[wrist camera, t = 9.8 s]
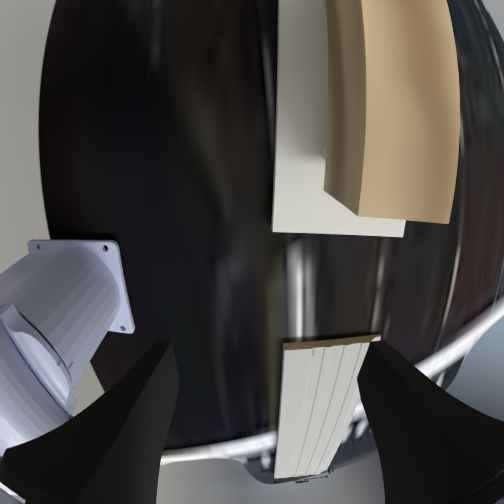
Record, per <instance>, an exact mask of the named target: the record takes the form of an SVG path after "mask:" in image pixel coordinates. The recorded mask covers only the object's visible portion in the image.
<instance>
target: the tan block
mask: <svg viewBox="0 0 504 504" xmlns="http://www.w3.org/2000/svg"><path fill="white" fill-rule="evenodd" d="M326 13H327V35H328V118H327V143H326V161H325V176H324V189H323V190H324V191H325V192H326V193H328V194H329V195H330V196H332V197H333V198H334V199H336V200H337V201H338V202H340V203H341V204H342V205H344V206H345V207H346V208H348V209H349V210H350V211H351V212H353V213H354V214H355V215H357V216H358V217H373V218H387V219H400V220H412V221H424V222H434V223H444V224H449V219H450V214H451V208H452V202H453V196H454V189H455V181H456V173H457V163H458V151H459V133H460V93H459V76H458V64H457V55H456V47H455V41H454V34H453V29H452V23H451V18H450V14H449V9H448V5H447V1H446V0H326Z"/></svg>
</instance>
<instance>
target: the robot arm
mask: <svg viewBox="0 0 504 504" xmlns="http://www.w3.org/2000/svg"><path fill="white" fill-rule="evenodd" d="M39 245H40V246H39ZM104 245H106V246H107V247H108V250H107V249H105V247H104ZM40 247H41V248H40ZM28 249H29V254H28V255H26V256H25V257H23V258H22V259H20V260H19V261H18V262H16V263H15V264H14V265H12V266H11V267H9V268H8V269H7V270H6V271H4V272H3V273H2V274H0V504H24V503H22V502H20V501H19V500H17V499H16V498H14V497H13V496H11V495H19V496H20V497H22V498H23V499H25V500H26V502H25V504H156V495H157V485H158V476H159V468H160V461H161V456H162V451H163V447H164V444H165V440H166V436H167V433H168V429H169V426H170V422H171V419H172V415H173V412H174V408H175V404H176V399H177V393H178V386H179V375H178V370H177V366H176V361H175V356H174V351H173V346H172V342H169V341H159V340H155V341H154V342H153V343H152V344H151V345H150V346H149V348H148V349H147V350H146V351H145V352H144V353H143V354H142V355H141V356H140V358H139V359H138V360H137V361H136V362H135V363H134V364H133V365H132V366H131V367H130V368H129V369H128V370H127V371H126V372H125V373H124V375H123V376H122V377H121V378H120V379H119V380H118V381H117V382H116V383H115V384H113V385H112V386H111V387H110V388H109V389H108V390H107V391H106V392H105V393H104V394H103V395H102V396H100V397H99V398H98V399H97V400H96V401H95V402H93V403H92V404H91V405H90V406H89V407H87V408H86V409H84V410H83V411H82V412H80V413H79V414H77V415H76V416H74V417H73V416H72V413H73V411H74V409H75V407H76V404H77V401H76V399H75V398H74V396H73V393H72V391H73V389H74V387H75V385H76V384H77V382H78V380H79V378H80V377H81V375H82V373H83V371H84V370H85V368H86V366H87V364H88V363H89V361H90V359H91V358H92V356H93V354H94V352H95V351H96V349H97V347H98V346H99V344H100V343H101V341H102V339H103V338H104V336H105V334H106V333H107V331H114V332H122V333H133V332H134V330H135V325H134V321H133V317H132V313H131V308H130V304H129V299H128V295H127V290H126V285H125V280H124V274H123V269H122V263H121V257H120V251H119V246H118V244H117V242H116V241H114V240H30V241H29V242H28ZM122 326H124V327H125V328H124V327H122ZM357 383H358V388H359V393H360V397H361V401H362V404H363V407H364V410H365V413H366V416H367V419H368V421H369V424H370V427H371V430H372V433H373V436H374V439H375V442H376V445H377V448H378V452H379V456H380V462H381V468H382V473H383V482H384V491H385V504H504V422H503V421H501V420H498V419H495V418H492V417H490V416H488V415H486V414H483V413H481V412H479V411H477V410H475V409H473V408H471V407H470V406H468V405H466V404H464V403H463V402H461V401H460V400H458V399H456V398H455V397H453V396H452V395H450V394H449V393H447V392H446V391H445V390H443V389H442V388H441V387H439V386H438V385H437V384H435V383H434V382H433V381H431V380H430V379H429V378H428V377H427V376H425V375H424V374H423V373H422V372H421V371H419V370H418V369H417V368H416V367H415V366H414V365H412V364H411V363H410V362H409V361H408V360H407V359H406V358H405V357H403V356H402V355H401V354H400V353H399V352H398V351H397V350H395V349H394V348H393V347H392V346H391V345H390V344H388V343H387V342H386V341H385V340H381V341H371V342H370V344H369V347H368V349H367V352H366V355H365V358H364V360H363V363H362V366H361V368H360V371H359V373H358V376H357Z"/></svg>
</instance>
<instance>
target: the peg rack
mask: <svg viewBox="0 0 504 504" xmlns="http://www.w3.org/2000/svg"><path fill="white" fill-rule="evenodd" d="M327 118H328V35H327V13H326V0H278V60H277V102H276V134H275V161H274V184H273V206H272V226H271V227H272V231H273V232H294V233H323V234H348V235H370V236H390V237H403V233H404V227H405V222H406V220H400V219H387V218H373V217H358V216H357V215H355V214H354V213H353V212H351V211H350V210H349V209H348V208H346V207H345V206H344V205H342V204H341V203H340V202H338V201H337V200H336V199H334V198H333V197H332V196H330V195H329V194H328V193H326V192H325V191H324V190H323V189H324V176H325V161H326V143H327Z"/></svg>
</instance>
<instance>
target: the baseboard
mask: <svg viewBox="0 0 504 504" xmlns="http://www.w3.org/2000/svg"><path fill="white" fill-rule="evenodd" d="M380 338H381V335H380V334H376V335H368V336H360V337H352V338H343V339H333V340H322V341H310V342H296V343H283V359H282V377H281V393H280V408H279V422H278V434H277V446H276V458H275V468H274V478H287V477H298V476H304V475H305V476H308V475H312V474H315V475H316V474H320V473H321V472H322V471H324V470H327V469H328V466H329V465H330V463H331V461H332V459H333V457H334V455H335V453H336V451H337V449H338V447H339V445H340V443H341V441H342V438H343V436H344V434H345V432H346V430H347V428H348V425H349V423H350V421H351V418H352V416H353V414H354V411H355V409H356V406H357V404H358V402H359V399H360V393H359V388H358V383H357V376H358V373H359V371H360V368H361V366H362V363H363V360H364V358H365V355H366V352H367V349H368V347H369V344H370V342H371V341H380ZM332 470H333V469H332ZM328 472H330V469H329V470H328ZM332 472H333V471H332ZM329 474H330V473H329ZM326 477H327V476H326ZM294 481H295V480H294ZM281 482H285V481H281ZM298 482H299V481H298ZM302 482H305V481H300V482H299V483H302ZM306 482H308V481H306ZM275 483H276V481H275ZM296 483H297V481H296Z"/></svg>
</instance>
